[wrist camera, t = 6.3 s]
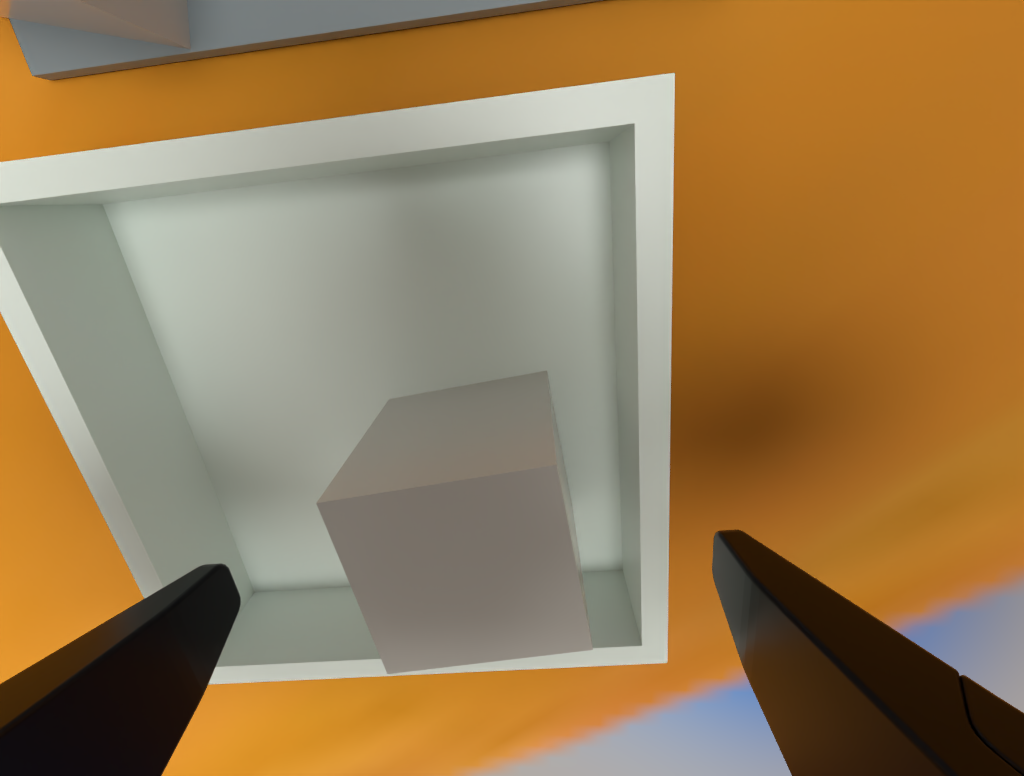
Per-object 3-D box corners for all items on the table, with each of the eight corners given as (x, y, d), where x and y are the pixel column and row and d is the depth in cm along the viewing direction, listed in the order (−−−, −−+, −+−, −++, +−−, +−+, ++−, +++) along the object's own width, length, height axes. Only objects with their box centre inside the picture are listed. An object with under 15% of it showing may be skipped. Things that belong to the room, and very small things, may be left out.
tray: (634, 107, 10) (675, 72, 7) (640, 572, 14) (667, 662, 12) (85, 178, 11) (-71, 171, 8) (250, 595, 15) (188, 685, 12)
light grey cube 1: (546, 370, 12) (557, 465, 7) (572, 507, 13) (592, 649, 9) (389, 399, 12) (316, 503, 8) (430, 528, 13) (387, 674, 9)
